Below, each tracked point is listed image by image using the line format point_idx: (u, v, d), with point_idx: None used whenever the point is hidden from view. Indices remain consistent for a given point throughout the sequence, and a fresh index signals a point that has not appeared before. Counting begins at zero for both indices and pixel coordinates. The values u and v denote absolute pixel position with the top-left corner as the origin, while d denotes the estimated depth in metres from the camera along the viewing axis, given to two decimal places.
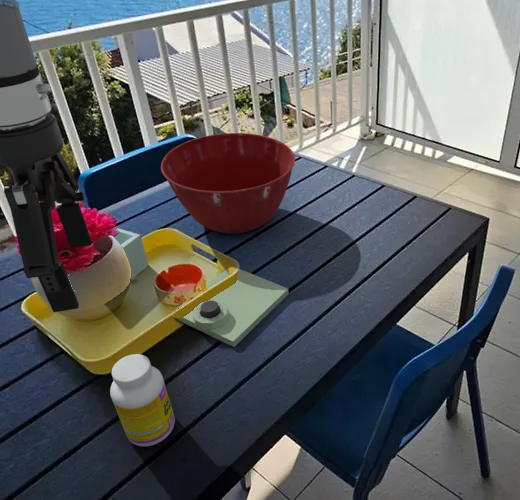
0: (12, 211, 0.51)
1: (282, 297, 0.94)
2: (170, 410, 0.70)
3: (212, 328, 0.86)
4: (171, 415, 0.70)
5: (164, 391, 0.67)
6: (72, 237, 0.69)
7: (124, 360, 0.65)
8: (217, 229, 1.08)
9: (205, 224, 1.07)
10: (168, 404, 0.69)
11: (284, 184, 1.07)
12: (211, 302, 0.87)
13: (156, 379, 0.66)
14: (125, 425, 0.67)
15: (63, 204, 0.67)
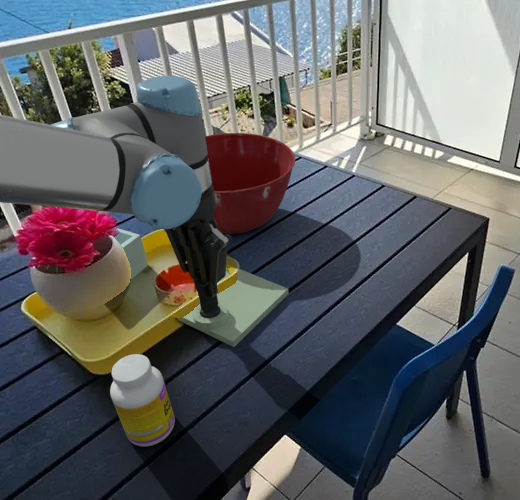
0: (217, 254, 0.76)
1: (282, 297, 0.94)
2: (170, 410, 0.70)
3: (212, 328, 0.86)
4: (171, 415, 0.70)
5: (164, 391, 0.67)
6: None
7: (124, 360, 0.65)
8: None
9: None
10: (168, 404, 0.69)
11: (284, 184, 1.07)
12: None
13: (156, 379, 0.66)
14: (125, 425, 0.67)
15: (199, 278, 0.83)
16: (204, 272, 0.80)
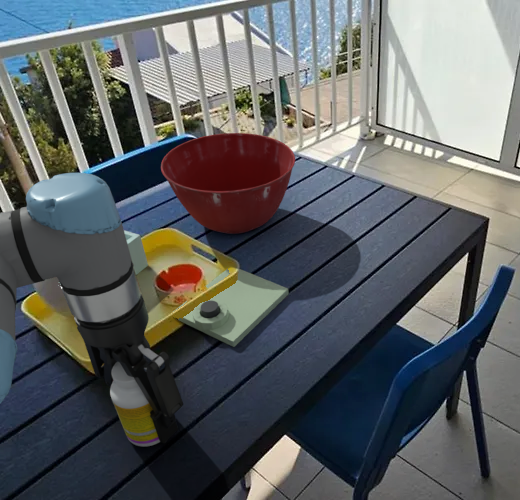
0: (155, 380, 0.59)
1: (282, 297, 0.94)
2: None
3: (212, 328, 0.86)
4: None
5: None
6: None
7: None
8: (217, 229, 1.08)
9: (205, 224, 1.07)
10: None
11: (284, 184, 1.07)
12: (211, 302, 0.87)
13: None
14: (125, 425, 0.67)
15: None
16: (151, 401, 0.63)
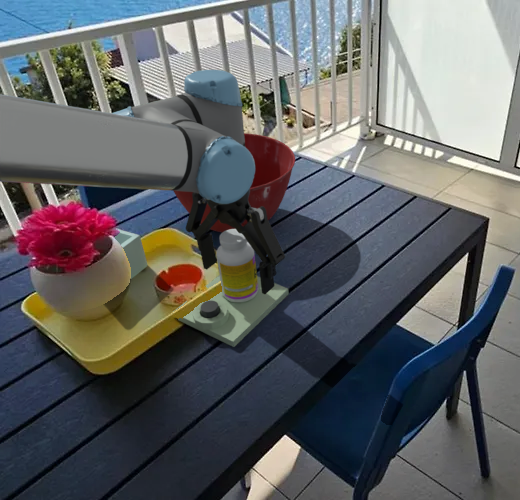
0: (259, 226, 0.80)
1: (282, 297, 0.94)
2: (256, 276, 0.92)
3: (212, 328, 0.86)
4: (257, 281, 0.92)
5: (254, 258, 0.90)
6: (208, 260, 0.93)
7: (227, 232, 0.87)
8: (217, 229, 1.08)
9: None
10: None
11: (284, 184, 1.07)
12: (211, 302, 0.87)
13: (250, 247, 0.88)
14: (226, 283, 0.89)
15: (202, 237, 0.90)
16: (259, 252, 0.83)
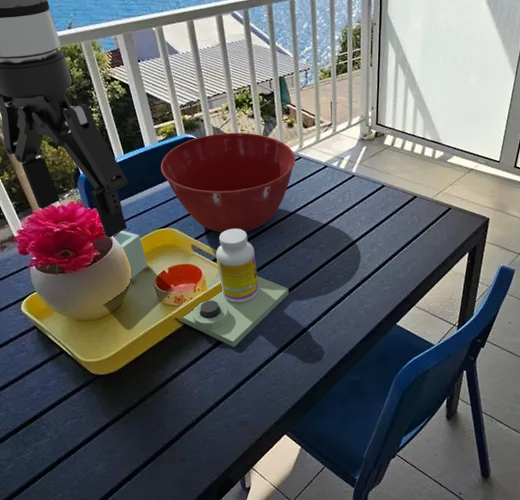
0: (78, 132, 0.55)
1: (282, 297, 0.94)
2: (256, 276, 0.92)
3: (212, 328, 0.86)
4: (257, 280, 0.92)
5: (254, 258, 0.90)
6: (42, 195, 0.68)
7: (227, 232, 0.87)
8: (217, 229, 1.08)
9: (205, 224, 1.07)
10: None
11: (284, 184, 1.07)
12: (211, 302, 0.87)
13: (250, 247, 0.88)
14: (226, 282, 0.89)
15: (28, 161, 0.66)
16: (88, 173, 0.58)
